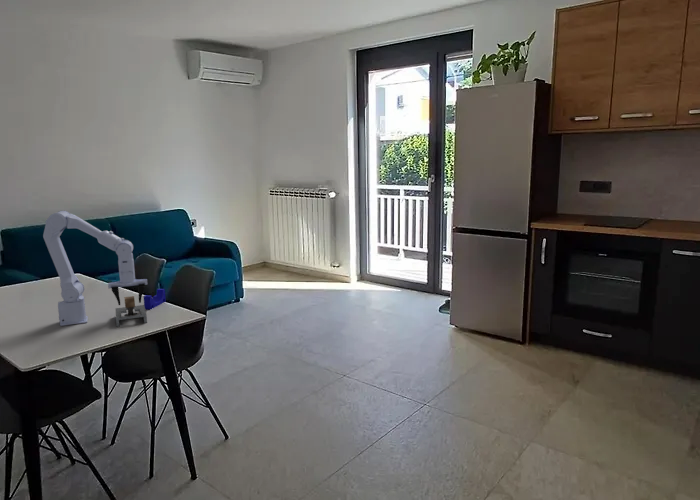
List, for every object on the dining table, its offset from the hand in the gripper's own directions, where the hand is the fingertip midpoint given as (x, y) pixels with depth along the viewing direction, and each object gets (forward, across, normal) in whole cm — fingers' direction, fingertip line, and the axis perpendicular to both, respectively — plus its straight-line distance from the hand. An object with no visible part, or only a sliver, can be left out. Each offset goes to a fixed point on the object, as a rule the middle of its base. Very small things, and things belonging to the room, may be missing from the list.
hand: (129, 303), depth 207 cm
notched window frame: (+6, 0, -4) cm, 7 cm away
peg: (+6, 0, 0) cm, 6 cm away
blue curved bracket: (+6, +10, +13) cm, 18 cm away
